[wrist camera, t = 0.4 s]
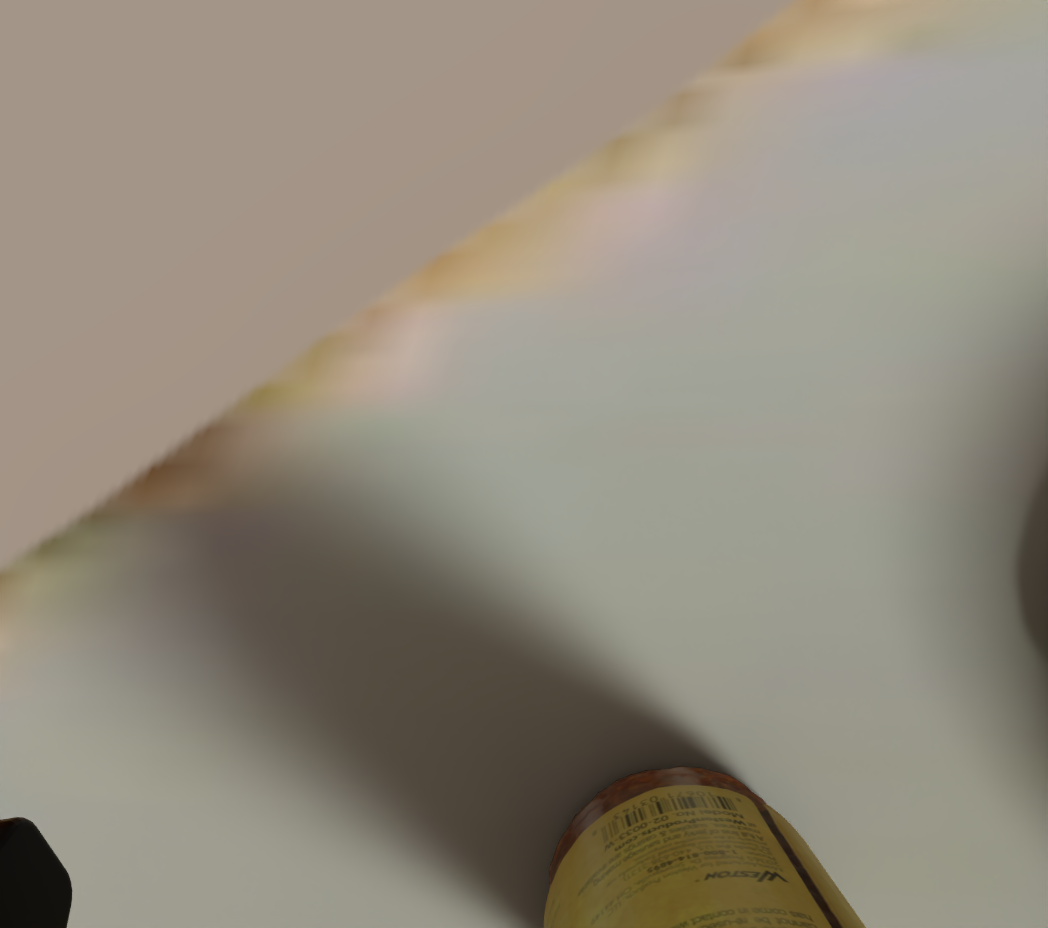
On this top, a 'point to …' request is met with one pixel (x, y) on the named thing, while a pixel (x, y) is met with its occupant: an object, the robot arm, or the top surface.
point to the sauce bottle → (688, 860)
